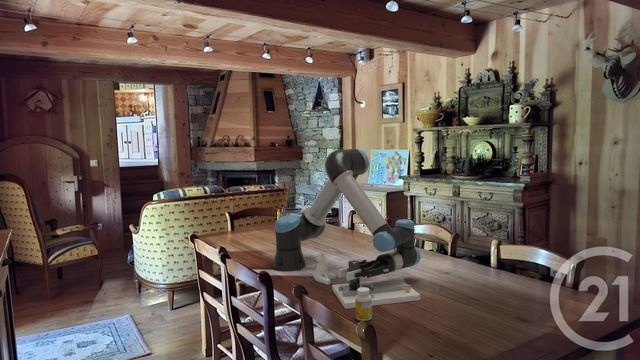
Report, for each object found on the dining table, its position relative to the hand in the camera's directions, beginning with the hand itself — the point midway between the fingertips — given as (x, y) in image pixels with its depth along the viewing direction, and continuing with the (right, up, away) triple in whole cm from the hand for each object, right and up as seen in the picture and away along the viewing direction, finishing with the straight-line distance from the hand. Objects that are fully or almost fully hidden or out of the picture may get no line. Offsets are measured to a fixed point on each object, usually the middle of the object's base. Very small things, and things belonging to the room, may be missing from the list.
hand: (343, 275), depth 161 cm
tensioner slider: (+7, -7, +2) cm, 10 cm away
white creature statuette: (-7, -8, +24) cm, 26 cm away
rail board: (+12, -9, +6) cm, 16 cm away
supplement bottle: (+6, -11, -15) cm, 20 cm away
